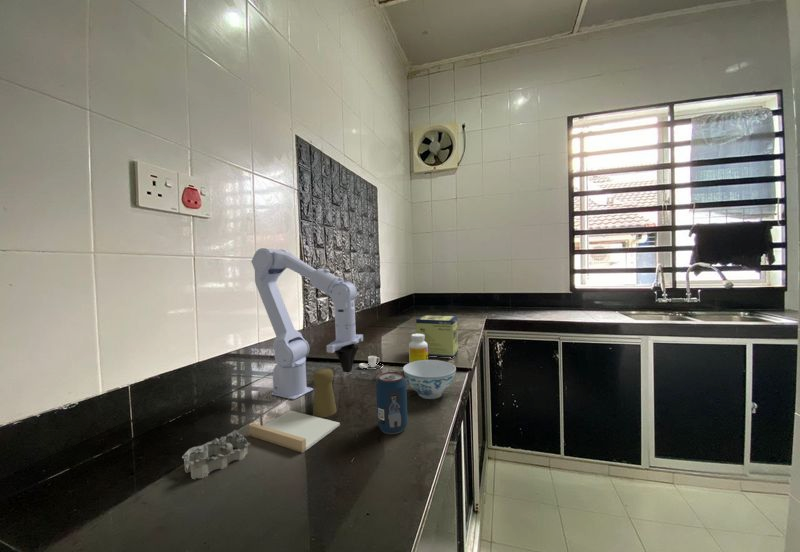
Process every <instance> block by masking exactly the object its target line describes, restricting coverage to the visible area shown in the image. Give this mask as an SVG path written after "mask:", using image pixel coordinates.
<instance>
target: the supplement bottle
mask: <svg viewBox="0 0 800 552" xmlns="http://www.w3.org/2000/svg"><path fill="white" fill-rule="evenodd" d="M410 338H411V341H410V342H409V344H408V354H409V355H408V356H409V357H408V359H409V360H408V361H409V363H411V362H415V361H420V360H429V357H428V345H427V343H426V342H425V341H424V338H425V335H424V334H416V333H412V334H411V337H410Z"/></svg>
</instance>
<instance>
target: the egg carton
mask: <svg viewBox="0 0 800 552" xmlns="http://www.w3.org/2000/svg"><path fill="white" fill-rule="evenodd" d="M249 445H251V442H249V441H248V440H247V438H245V437H244V436H243V435H242V433H239V431H238V430H237V429H234V430H233V431H231V432H230V433H227V435H225V436H221V437H220V438H217V437H215V438H214V439H212V440H211V441H207V442H206V443H204V444H201V445H198V446H193V447H190V448H189V449H188V450H187V451H185V453H183V455H182V456H181V458H182V459H183V460H184V461H183V462H184V463H183V464H184V471H185V473H186V474H188V473H190V478H192V479H194V480H197V479H196V478H198V479H201V478H203V479H205V478H207V477H209V475H208V474H210V473H211V472H213V471H215V470H224V469H225V468H227V467H228V465H229V464H230V463H231V462H234V461H242V460H243V459H245V456H246V455H247V454H248V453H249V452H248V451H249V449H248V446H249ZM234 448H236V449H234ZM206 476H207V477H206ZM204 477H205V478H204ZM192 479H191V480H192Z"/></svg>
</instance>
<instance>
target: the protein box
mask: <svg viewBox="0 0 800 552" xmlns="http://www.w3.org/2000/svg"><path fill="white" fill-rule="evenodd" d="M415 325H416V326H415V327H416V328H415V329H416V330H415V331H416V332H415V334H424V335H425V338H424V341H425V342H426V343H427V345H428V356H437V357H451V358H453V357H454V356H455V355H456V354H457V355H458V353H459V344H458V343H459V337H458V336H459V335H458V316H457V315H422V316H420V317H418V318H416V319H415ZM457 352H458V353H457ZM457 355H456V356H457ZM456 356H455V357H456ZM455 357H454V358H455Z"/></svg>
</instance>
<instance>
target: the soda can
mask: <svg viewBox="0 0 800 552" xmlns="http://www.w3.org/2000/svg"><path fill="white" fill-rule="evenodd" d="M377 378H378V379H377V381H376V384H375V390H376V391H375V393H376V395H375V396H376V397H375V398H376V419H377V421H376V422H377V426H378V428H379V430H380V431H381V432H383V433H384V434H387V435H397V434H400V433H402V432H403V431H404V430H405V429H406V427H407V424H408V399H407V398H408V396H407V395H408V394H407V380H406V379H405V377H404V373H401V372H398V371H387V372H383V373H381V374H379V375H378V377H377Z"/></svg>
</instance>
